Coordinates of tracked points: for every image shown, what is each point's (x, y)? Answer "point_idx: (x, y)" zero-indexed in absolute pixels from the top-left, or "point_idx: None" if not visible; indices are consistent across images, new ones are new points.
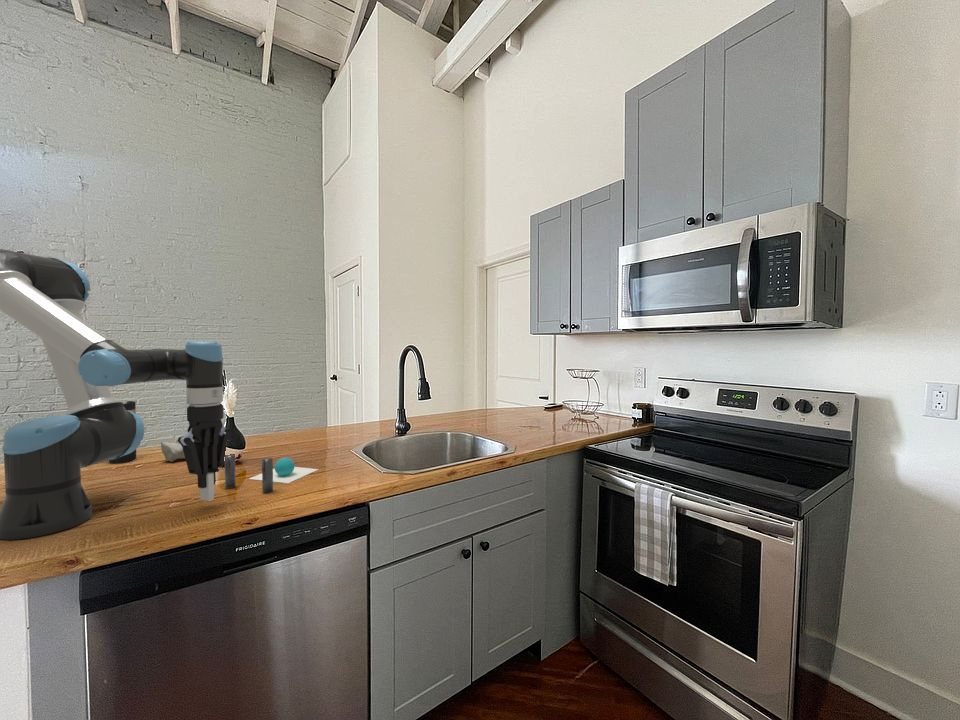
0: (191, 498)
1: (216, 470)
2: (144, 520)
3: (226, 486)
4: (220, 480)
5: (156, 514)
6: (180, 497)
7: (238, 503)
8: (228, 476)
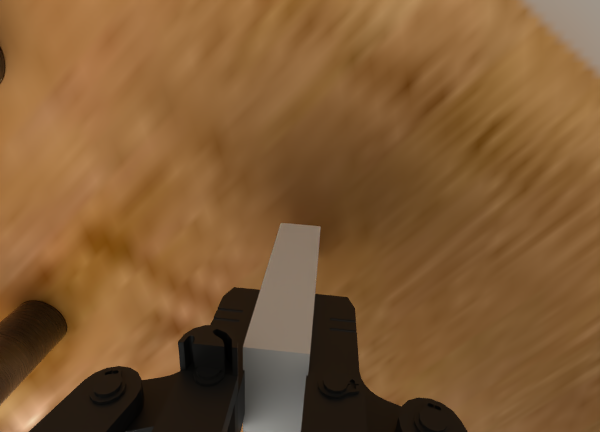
0: None
1: (222, 343)
2: (505, 375)
3: (58, 333)
4: (5, 418)
5: (432, 379)
6: None
7: (205, 94)
8: (8, 367)
